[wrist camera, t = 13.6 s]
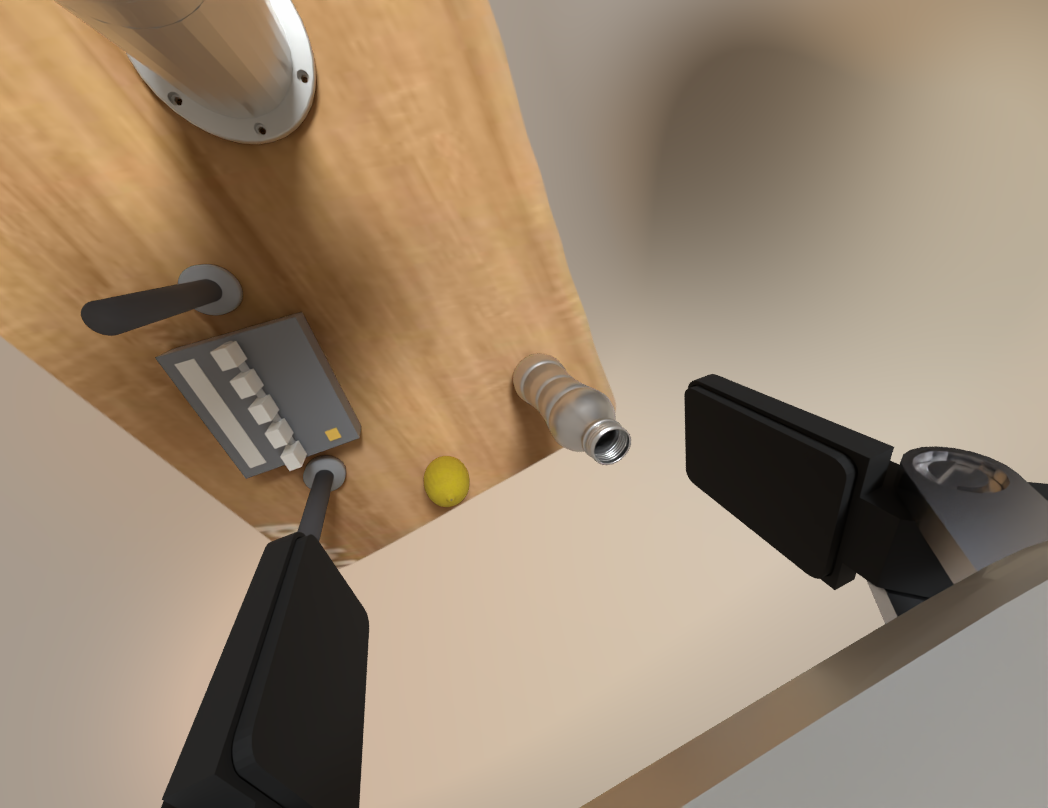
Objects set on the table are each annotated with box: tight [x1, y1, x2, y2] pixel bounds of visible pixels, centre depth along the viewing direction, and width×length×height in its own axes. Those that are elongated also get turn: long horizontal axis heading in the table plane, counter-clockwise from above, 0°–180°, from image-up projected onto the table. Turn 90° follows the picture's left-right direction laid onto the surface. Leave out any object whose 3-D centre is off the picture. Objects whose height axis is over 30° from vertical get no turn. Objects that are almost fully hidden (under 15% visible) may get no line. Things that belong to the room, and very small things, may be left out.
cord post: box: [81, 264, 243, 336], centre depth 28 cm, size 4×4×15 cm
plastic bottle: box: [513, 353, 631, 465], centre depth 40 cm, size 6×7×20 cm
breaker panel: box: [155, 312, 361, 479], centre depth 38 cm, size 14×12×3 cm
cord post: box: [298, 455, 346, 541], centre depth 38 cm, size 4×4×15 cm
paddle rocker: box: [210, 341, 307, 471], centre depth 35 cm, size 13×1×3 cm, turn 14°
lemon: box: [424, 456, 469, 507], centre depth 46 cm, size 6×6×8 cm
